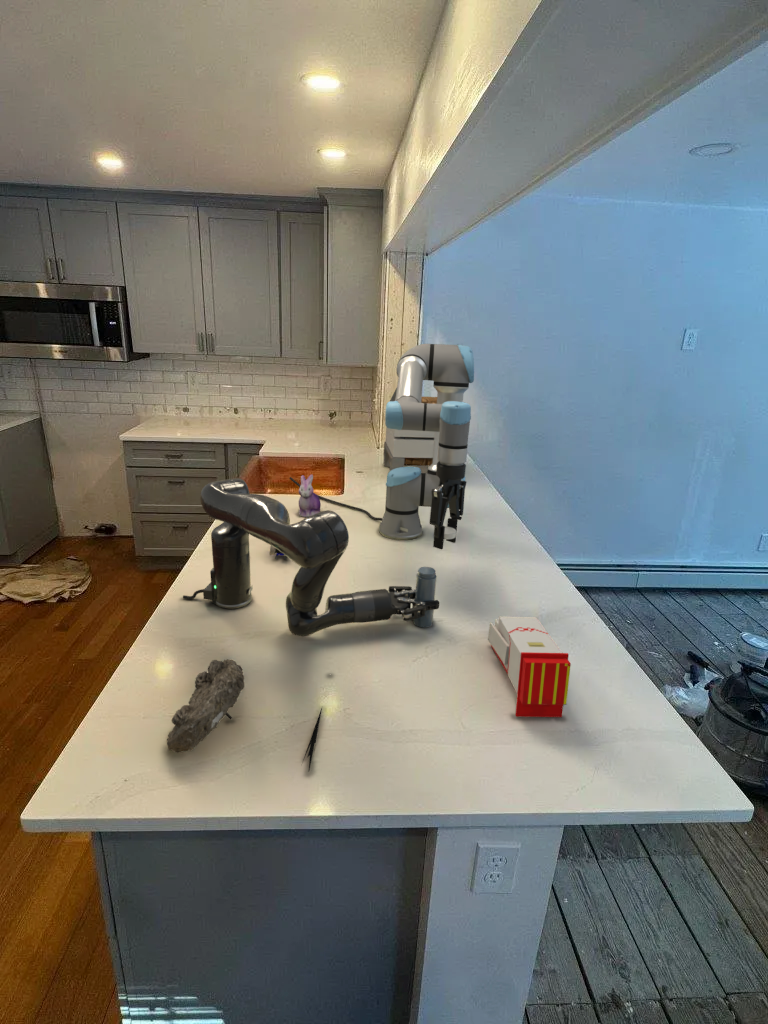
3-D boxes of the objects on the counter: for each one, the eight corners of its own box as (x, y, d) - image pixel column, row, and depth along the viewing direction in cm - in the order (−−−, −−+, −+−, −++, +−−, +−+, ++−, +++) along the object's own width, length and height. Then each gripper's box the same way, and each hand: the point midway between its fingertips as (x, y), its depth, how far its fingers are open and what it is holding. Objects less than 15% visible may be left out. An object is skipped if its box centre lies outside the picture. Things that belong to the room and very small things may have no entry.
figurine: (302, 519, 209) (301, 480, 204) (293, 510, 217) (292, 472, 212) (325, 516, 213) (326, 477, 208) (316, 507, 222) (316, 470, 217)
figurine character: (291, 566, 174) (297, 542, 188) (290, 545, 171) (296, 522, 184) (269, 566, 174) (276, 541, 187) (268, 544, 171) (275, 521, 184)
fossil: (192, 660, 117) (244, 628, 112) (224, 691, 120) (276, 661, 115) (142, 746, 98) (202, 712, 93) (182, 779, 101) (242, 748, 96)
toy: (534, 602, 136) (579, 659, 107) (529, 653, 139) (572, 723, 110) (484, 601, 136) (516, 658, 107) (480, 652, 139) (510, 722, 109)
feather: (331, 679, 122) (336, 673, 122) (307, 777, 96) (313, 769, 95) (324, 675, 122) (329, 669, 121) (298, 772, 95) (304, 764, 95)
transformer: (382, 463, 289) (386, 382, 275) (445, 464, 293) (451, 384, 279) (390, 482, 257) (394, 392, 243) (460, 483, 261) (468, 394, 247)
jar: (409, 620, 145) (412, 568, 140) (424, 615, 147) (428, 564, 142) (421, 629, 141) (425, 576, 136) (436, 624, 144) (441, 572, 139)
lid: (445, 541, 150) (446, 535, 150) (430, 534, 155) (430, 529, 154) (460, 536, 154) (461, 531, 154) (444, 530, 158) (445, 524, 158)
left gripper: (378, 606, 130) (446, 599, 135) (362, 579, 143) (425, 573, 148) (376, 635, 133) (444, 626, 138) (361, 605, 146) (423, 598, 150)
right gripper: (458, 454, 157) (451, 532, 164) (418, 465, 143) (413, 550, 150) (482, 459, 152) (473, 539, 160) (443, 471, 138) (436, 558, 146)
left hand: (434, 599), depth 143 cm, fingers closed on jar, 5 cm apart
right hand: (444, 544), depth 155 cm, fingers closed on lid, 6 cm apart
